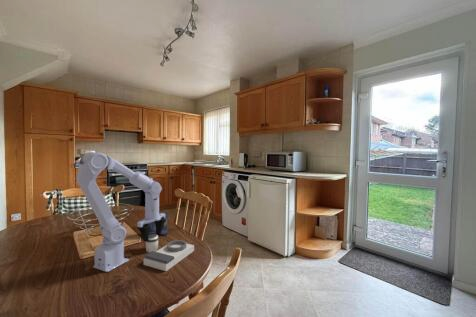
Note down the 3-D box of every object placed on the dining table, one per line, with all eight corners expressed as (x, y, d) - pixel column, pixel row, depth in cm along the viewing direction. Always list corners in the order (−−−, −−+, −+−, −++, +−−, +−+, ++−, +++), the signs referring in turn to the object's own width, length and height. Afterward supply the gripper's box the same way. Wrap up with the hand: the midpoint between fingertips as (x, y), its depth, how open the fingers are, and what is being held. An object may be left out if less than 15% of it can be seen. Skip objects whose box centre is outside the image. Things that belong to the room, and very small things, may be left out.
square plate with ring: (166, 271, 79) (166, 260, 79) (143, 264, 83) (143, 254, 83) (194, 250, 96) (194, 241, 96) (174, 246, 100) (174, 237, 100)
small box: (145, 237, 109) (145, 217, 109) (147, 232, 116) (147, 213, 115) (167, 235, 112) (167, 215, 112) (168, 230, 119) (168, 212, 118)
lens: (152, 253, 93) (152, 239, 92) (143, 251, 95) (143, 237, 94) (160, 248, 97) (160, 235, 97) (152, 246, 99) (152, 233, 99)
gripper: (146, 213, 87) (146, 246, 88) (170, 205, 100) (170, 233, 101) (133, 211, 90) (133, 243, 90) (158, 203, 103) (158, 231, 104)
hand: (152, 237), depth 96 cm, fingers open, 7 cm apart
